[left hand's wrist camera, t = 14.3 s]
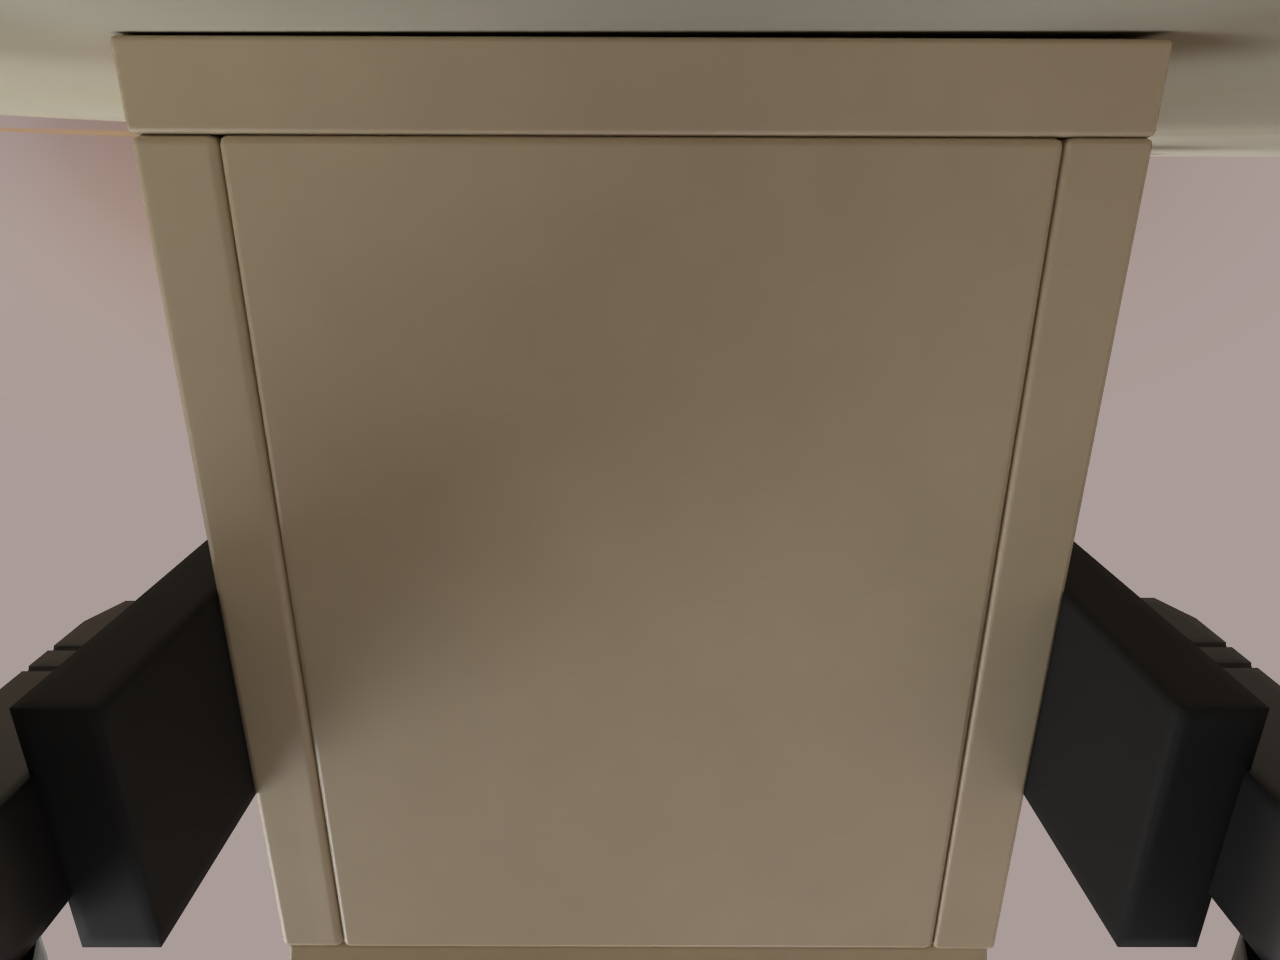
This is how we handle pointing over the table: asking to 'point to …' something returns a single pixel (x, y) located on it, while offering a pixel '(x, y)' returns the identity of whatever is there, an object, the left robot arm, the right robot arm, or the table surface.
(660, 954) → the lid
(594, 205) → the chest
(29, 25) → the table surface
